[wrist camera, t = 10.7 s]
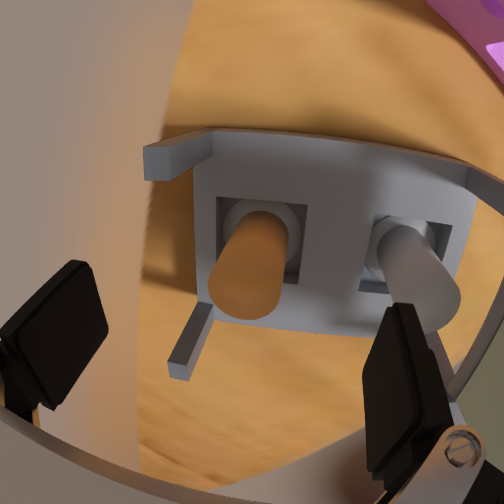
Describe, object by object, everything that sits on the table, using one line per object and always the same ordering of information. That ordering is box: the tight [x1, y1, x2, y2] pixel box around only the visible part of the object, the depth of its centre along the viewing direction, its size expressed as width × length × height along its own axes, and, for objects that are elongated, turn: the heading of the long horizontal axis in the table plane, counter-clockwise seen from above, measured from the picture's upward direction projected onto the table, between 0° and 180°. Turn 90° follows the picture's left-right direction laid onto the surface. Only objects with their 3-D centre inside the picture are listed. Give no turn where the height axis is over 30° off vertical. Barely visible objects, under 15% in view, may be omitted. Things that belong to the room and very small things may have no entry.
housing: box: [143, 127, 504, 416], centre depth 14 cm, size 11×15×8 cm
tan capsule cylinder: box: [207, 210, 289, 320], centre depth 15 cm, size 3×3×6 cm
